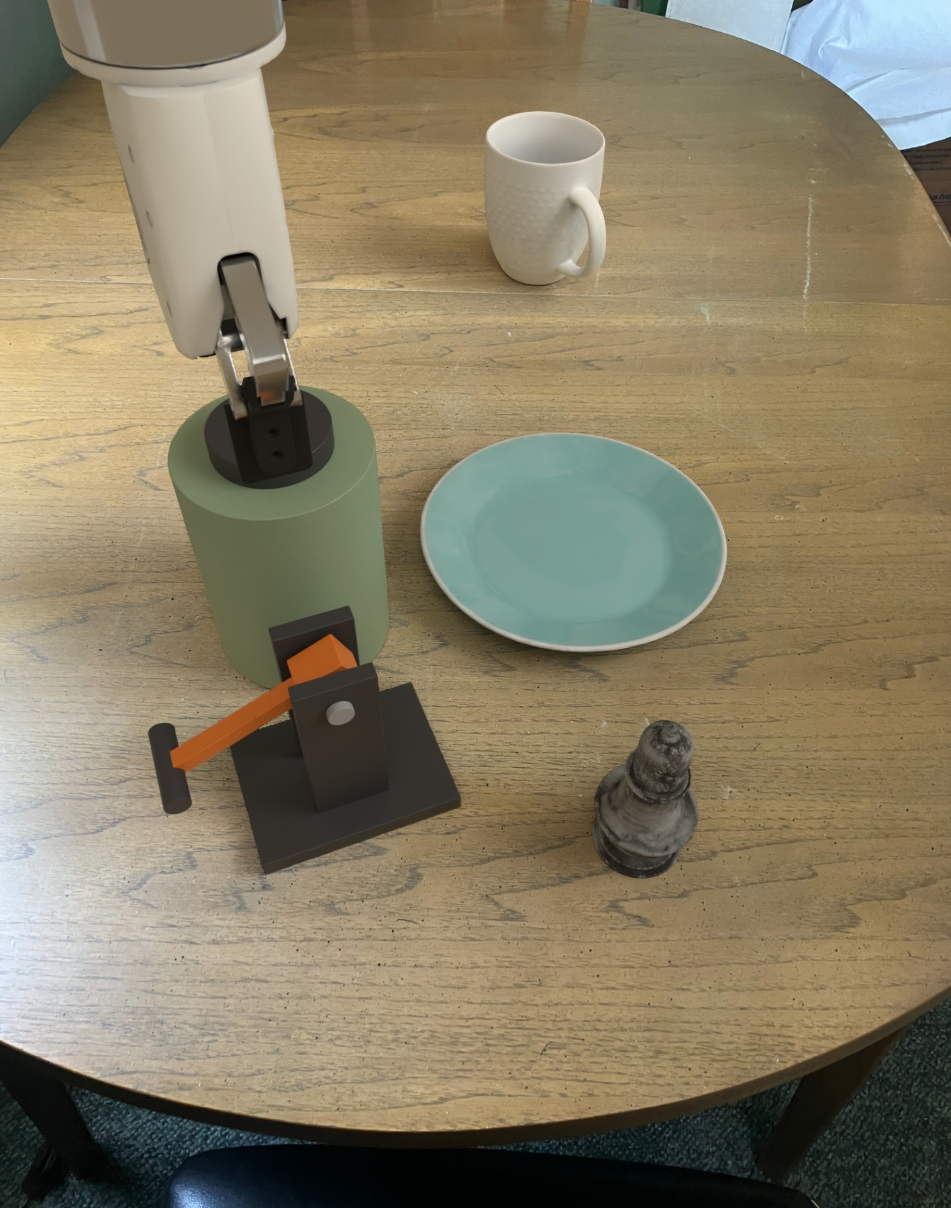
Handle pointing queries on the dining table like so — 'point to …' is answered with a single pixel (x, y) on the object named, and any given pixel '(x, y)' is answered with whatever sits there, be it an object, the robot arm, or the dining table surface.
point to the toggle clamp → (338, 756)
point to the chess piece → (647, 804)
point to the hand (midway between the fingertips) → (250, 407)
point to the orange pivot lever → (236, 723)
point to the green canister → (285, 532)
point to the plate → (573, 542)
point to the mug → (544, 195)
